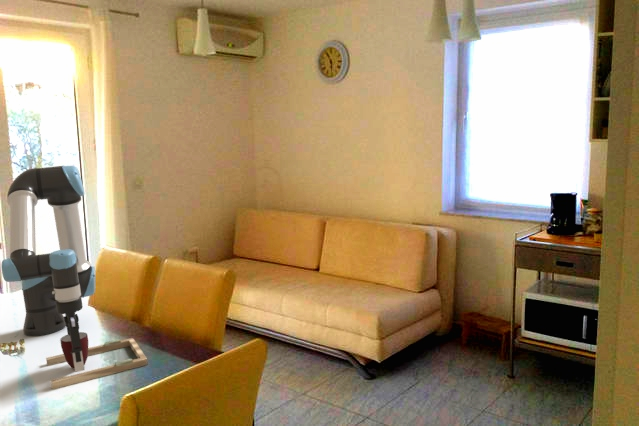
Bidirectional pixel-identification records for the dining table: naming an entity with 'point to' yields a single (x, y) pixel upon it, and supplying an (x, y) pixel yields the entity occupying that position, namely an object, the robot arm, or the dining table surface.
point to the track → (105, 370)
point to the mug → (67, 348)
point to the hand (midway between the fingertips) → (77, 364)
